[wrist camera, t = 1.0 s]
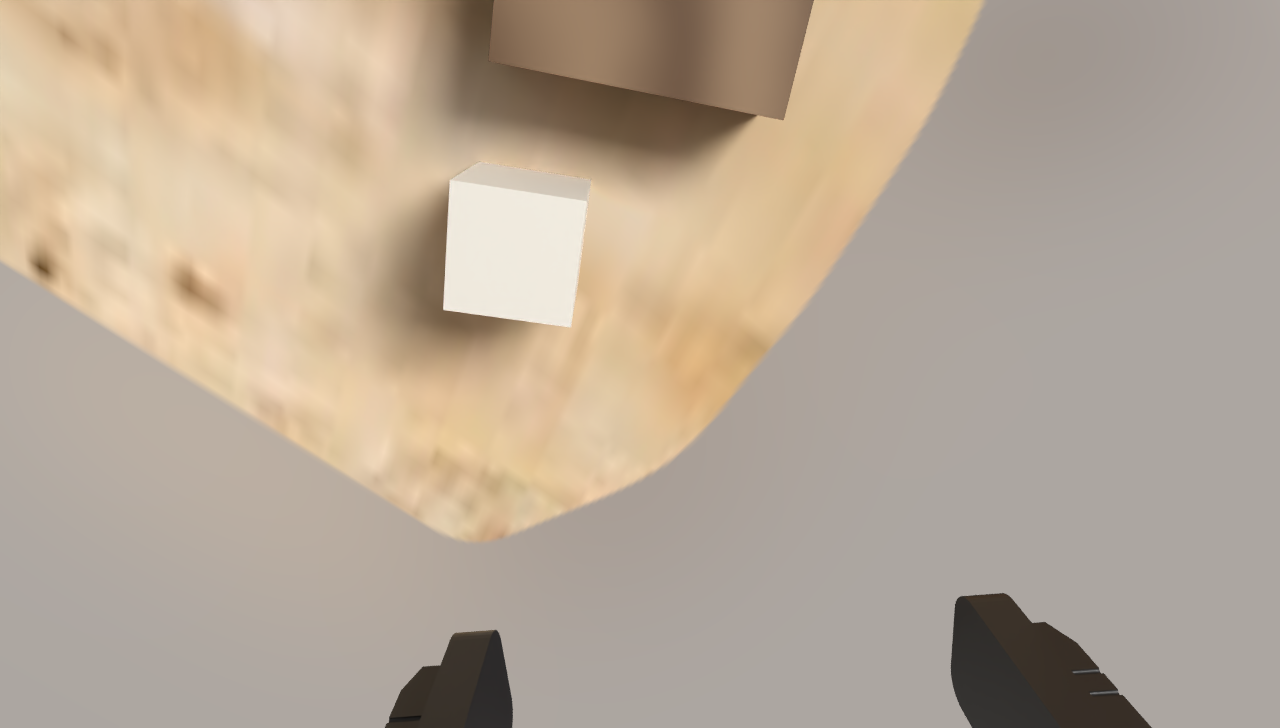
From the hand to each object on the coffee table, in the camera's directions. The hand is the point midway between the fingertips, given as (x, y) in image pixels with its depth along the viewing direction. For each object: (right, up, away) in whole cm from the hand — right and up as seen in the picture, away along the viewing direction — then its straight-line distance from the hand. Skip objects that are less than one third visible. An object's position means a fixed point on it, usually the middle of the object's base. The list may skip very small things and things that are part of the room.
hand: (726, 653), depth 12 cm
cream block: (-7, +12, +19) cm, 23 cm away
